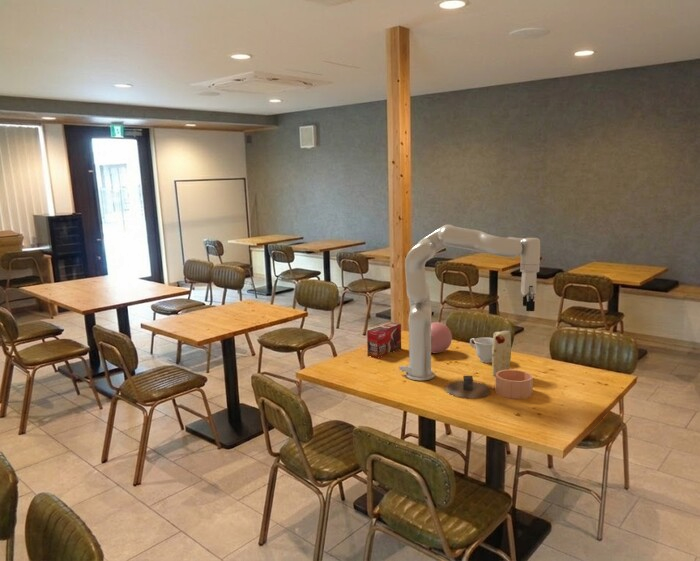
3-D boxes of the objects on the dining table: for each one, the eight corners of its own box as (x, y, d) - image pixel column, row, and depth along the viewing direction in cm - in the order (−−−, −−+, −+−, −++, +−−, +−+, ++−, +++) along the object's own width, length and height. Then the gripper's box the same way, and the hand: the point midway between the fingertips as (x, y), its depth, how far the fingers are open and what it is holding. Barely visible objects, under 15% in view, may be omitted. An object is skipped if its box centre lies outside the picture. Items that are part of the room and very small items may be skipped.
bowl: (497, 397, 213) (497, 380, 212) (494, 385, 227) (494, 369, 226) (534, 399, 211) (535, 382, 210) (529, 386, 224) (529, 370, 223)
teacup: (476, 354, 269) (476, 334, 267) (504, 360, 258) (504, 340, 257) (463, 360, 260) (463, 340, 258) (491, 366, 250) (491, 345, 248)
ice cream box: (391, 346, 285) (391, 322, 283) (401, 348, 281) (401, 323, 279) (367, 356, 270) (366, 330, 268) (377, 358, 266) (376, 332, 264)
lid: (445, 398, 215) (445, 384, 214) (445, 382, 232) (445, 369, 231) (492, 400, 212) (492, 385, 211) (488, 384, 229) (489, 370, 228)
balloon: (407, 354, 272) (407, 324, 269) (435, 346, 284) (435, 317, 281) (430, 361, 260) (430, 329, 257) (458, 352, 272) (458, 322, 270)
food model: (499, 379, 233) (500, 334, 230) (487, 375, 239) (488, 331, 235) (514, 374, 239) (515, 330, 235) (502, 370, 244) (503, 327, 241)
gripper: (517, 264, 233) (516, 303, 236) (523, 271, 216) (522, 313, 219) (535, 264, 232) (534, 304, 235) (543, 271, 215) (541, 313, 218)
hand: (528, 308), depth 227 cm, fingers open, 9 cm apart
